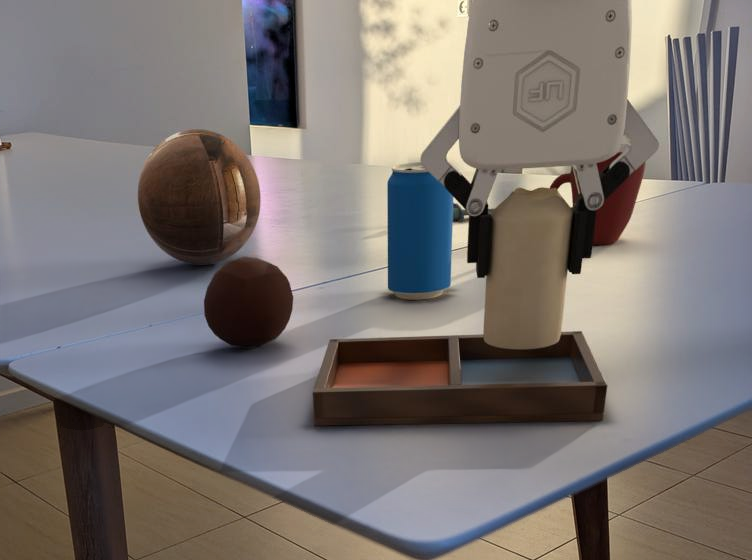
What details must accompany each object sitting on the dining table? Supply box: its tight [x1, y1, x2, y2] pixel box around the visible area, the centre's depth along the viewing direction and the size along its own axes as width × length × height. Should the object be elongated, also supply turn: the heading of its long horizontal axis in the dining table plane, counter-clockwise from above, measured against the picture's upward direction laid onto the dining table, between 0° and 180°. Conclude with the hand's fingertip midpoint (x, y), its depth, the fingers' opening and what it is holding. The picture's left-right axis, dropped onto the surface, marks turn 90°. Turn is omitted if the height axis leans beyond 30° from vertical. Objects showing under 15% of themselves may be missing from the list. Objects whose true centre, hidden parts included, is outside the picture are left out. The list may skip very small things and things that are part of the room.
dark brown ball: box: [203, 256, 294, 349], centre depth 82 cm, size 8×9×8 cm
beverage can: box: [386, 161, 454, 301], centre depth 92 cm, size 6×6×12 cm
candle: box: [482, 186, 574, 349], centre depth 64 cm, size 6×6×10 cm
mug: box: [549, 143, 647, 246], centre depth 108 cm, size 11×8×10 cm
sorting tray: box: [312, 330, 608, 426], centre depth 69 cm, size 20×13×2 cm, turn 82°
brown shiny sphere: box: [137, 128, 262, 266], centre depth 112 cm, size 15×15×15 cm
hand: (526, 269), depth 64 cm, fingers closed on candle, 5 cm apart
